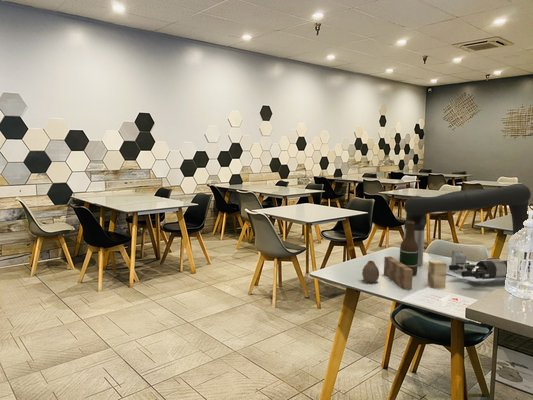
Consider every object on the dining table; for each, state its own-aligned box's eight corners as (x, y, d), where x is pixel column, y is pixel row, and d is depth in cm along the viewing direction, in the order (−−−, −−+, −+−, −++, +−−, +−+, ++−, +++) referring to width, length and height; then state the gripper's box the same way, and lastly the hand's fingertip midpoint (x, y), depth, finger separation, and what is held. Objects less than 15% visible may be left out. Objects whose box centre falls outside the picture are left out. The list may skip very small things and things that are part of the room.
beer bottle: (417, 272, 185) (420, 220, 182) (416, 277, 178) (419, 223, 175) (399, 270, 188) (402, 219, 185) (397, 275, 181) (400, 222, 178)
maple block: (427, 284, 170) (428, 260, 168) (438, 283, 170) (439, 260, 169) (433, 288, 165) (435, 264, 163) (445, 287, 165) (446, 263, 164)
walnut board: (383, 273, 183) (384, 256, 182) (390, 273, 183) (390, 256, 182) (404, 289, 163) (405, 270, 162) (411, 289, 163) (412, 269, 162)
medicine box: (465, 274, 183) (466, 255, 182) (454, 273, 184) (456, 254, 183) (460, 268, 191) (462, 251, 190) (450, 268, 192) (451, 250, 191)
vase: (375, 285, 168) (376, 264, 167) (359, 282, 171) (360, 262, 170) (380, 280, 174) (381, 260, 172) (365, 277, 177) (365, 258, 176)
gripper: (480, 256, 177) (446, 257, 174) (504, 265, 163) (466, 267, 160) (479, 272, 178) (445, 274, 175) (502, 283, 164) (465, 285, 161)
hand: (455, 270), depth 168 cm, fingers open, 8 cm apart
